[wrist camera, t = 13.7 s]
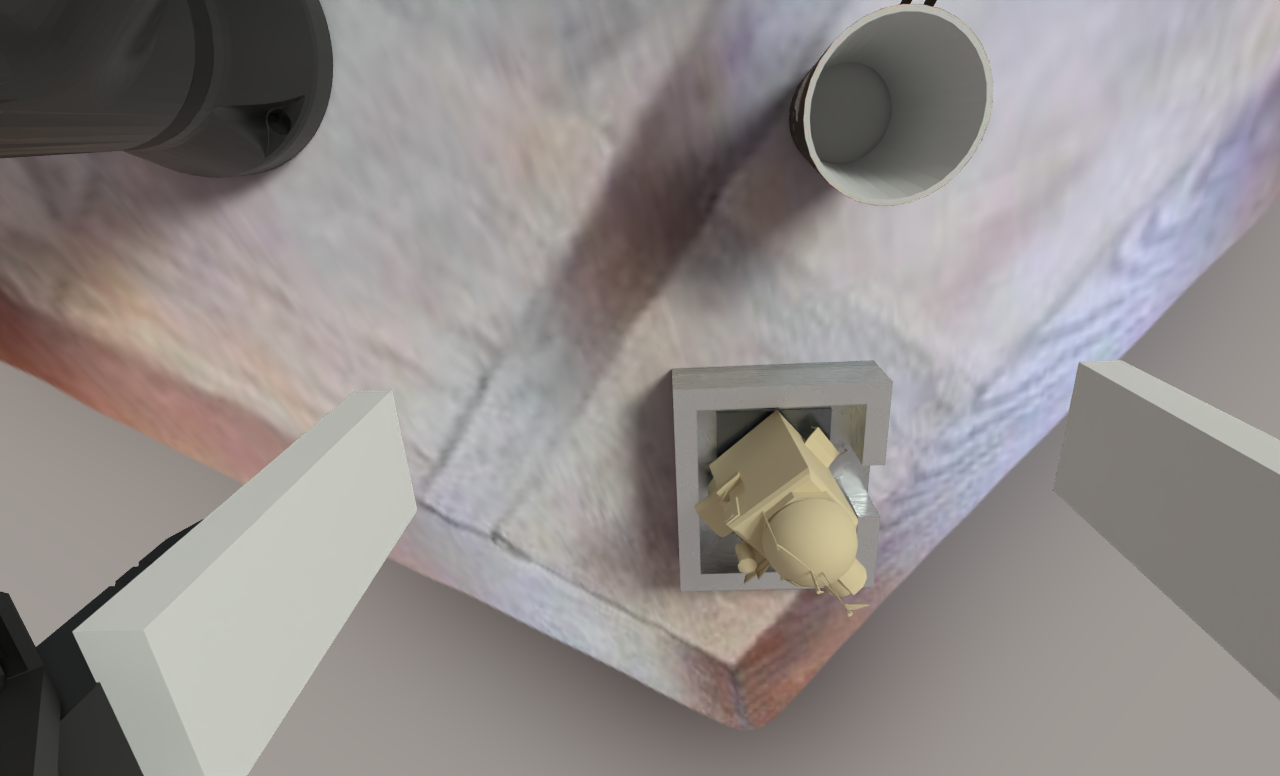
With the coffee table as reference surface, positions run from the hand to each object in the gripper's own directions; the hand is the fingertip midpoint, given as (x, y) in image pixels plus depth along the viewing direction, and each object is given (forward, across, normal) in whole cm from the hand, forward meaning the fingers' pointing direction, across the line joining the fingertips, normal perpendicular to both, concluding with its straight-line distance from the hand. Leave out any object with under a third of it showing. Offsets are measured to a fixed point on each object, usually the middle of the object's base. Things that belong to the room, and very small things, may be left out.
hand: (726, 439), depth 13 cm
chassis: (+32, +6, -18) cm, 37 cm away
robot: (+30, +6, -18) cm, 36 cm away
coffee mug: (+32, +11, +7) cm, 34 cm away
